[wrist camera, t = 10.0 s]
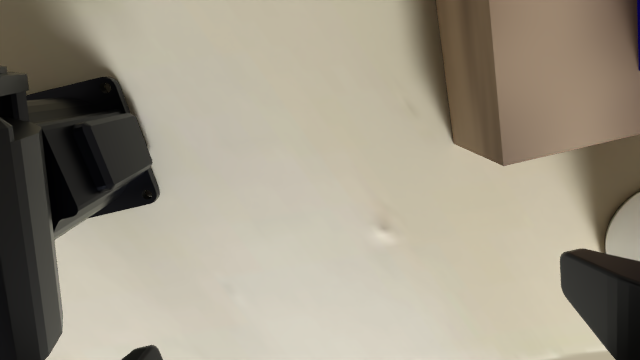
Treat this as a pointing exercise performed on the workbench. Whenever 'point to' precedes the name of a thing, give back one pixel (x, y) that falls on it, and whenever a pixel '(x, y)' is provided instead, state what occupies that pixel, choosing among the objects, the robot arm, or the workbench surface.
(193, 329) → the workbench surface
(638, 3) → the cable holder
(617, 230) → the can
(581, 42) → the plate
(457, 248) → the workbench surface
